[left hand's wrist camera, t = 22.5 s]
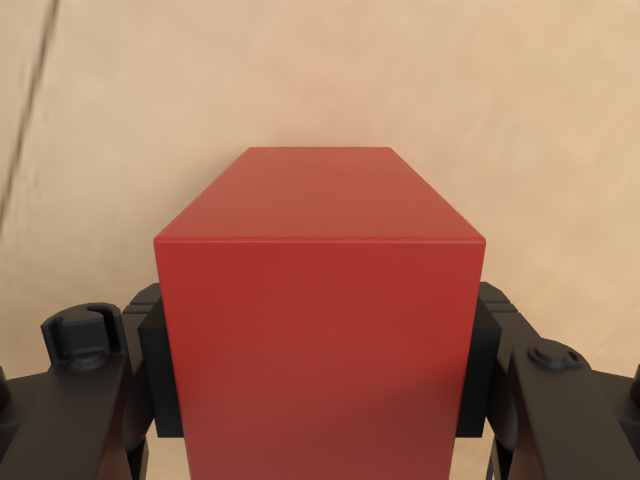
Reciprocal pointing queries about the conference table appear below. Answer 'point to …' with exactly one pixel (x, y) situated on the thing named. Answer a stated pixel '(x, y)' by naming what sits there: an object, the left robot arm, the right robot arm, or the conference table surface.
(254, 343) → the brick
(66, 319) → the left robot arm
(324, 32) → the conference table surface
